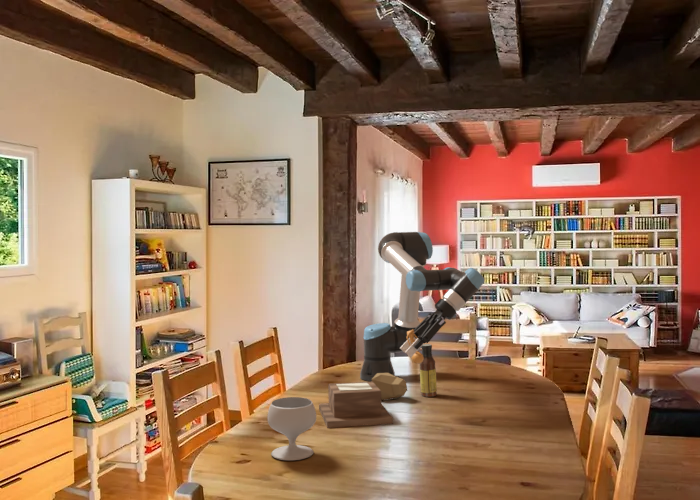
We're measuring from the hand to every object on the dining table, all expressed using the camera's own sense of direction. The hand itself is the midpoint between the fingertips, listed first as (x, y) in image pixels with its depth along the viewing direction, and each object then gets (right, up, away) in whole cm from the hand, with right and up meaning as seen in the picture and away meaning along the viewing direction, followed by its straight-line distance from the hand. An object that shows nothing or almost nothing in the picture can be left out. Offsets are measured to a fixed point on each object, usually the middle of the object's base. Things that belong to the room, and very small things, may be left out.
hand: (405, 352), depth 216 cm
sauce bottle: (+11, -21, +24) cm, 33 cm away
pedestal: (-18, -21, -3) cm, 28 cm away
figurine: (+4, -4, +1) cm, 5 cm away
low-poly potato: (-4, -21, +19) cm, 29 cm away
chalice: (-36, -23, -39) cm, 58 cm away
